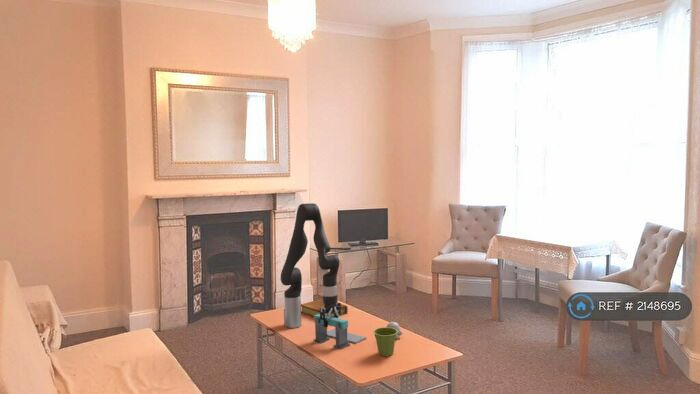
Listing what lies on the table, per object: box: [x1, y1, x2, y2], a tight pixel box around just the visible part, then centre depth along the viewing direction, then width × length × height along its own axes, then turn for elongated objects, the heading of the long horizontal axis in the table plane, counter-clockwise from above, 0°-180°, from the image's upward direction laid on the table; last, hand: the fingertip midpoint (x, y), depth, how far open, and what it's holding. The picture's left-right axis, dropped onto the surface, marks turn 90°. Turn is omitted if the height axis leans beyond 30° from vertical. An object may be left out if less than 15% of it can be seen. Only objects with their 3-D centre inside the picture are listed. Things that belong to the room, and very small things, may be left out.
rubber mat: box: [327, 328, 367, 345], centre depth 292 cm, size 23×9×1 cm, turn 50°
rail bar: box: [313, 314, 349, 329], centre depth 282 cm, size 20×4×4 cm, turn 50°
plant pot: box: [372, 326, 398, 357], centre depth 266 cm, size 12×12×11 cm
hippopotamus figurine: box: [386, 321, 403, 340], centre depth 287 cm, size 7×12×8 cm, turn 129°
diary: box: [301, 298, 349, 318], centre depth 336 cm, size 23×19×6 cm
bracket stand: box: [313, 318, 351, 350], centre depth 282 cm, size 19×7×12 cm, turn 50°
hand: (330, 325), depth 282 cm, fingers open, 7 cm apart
